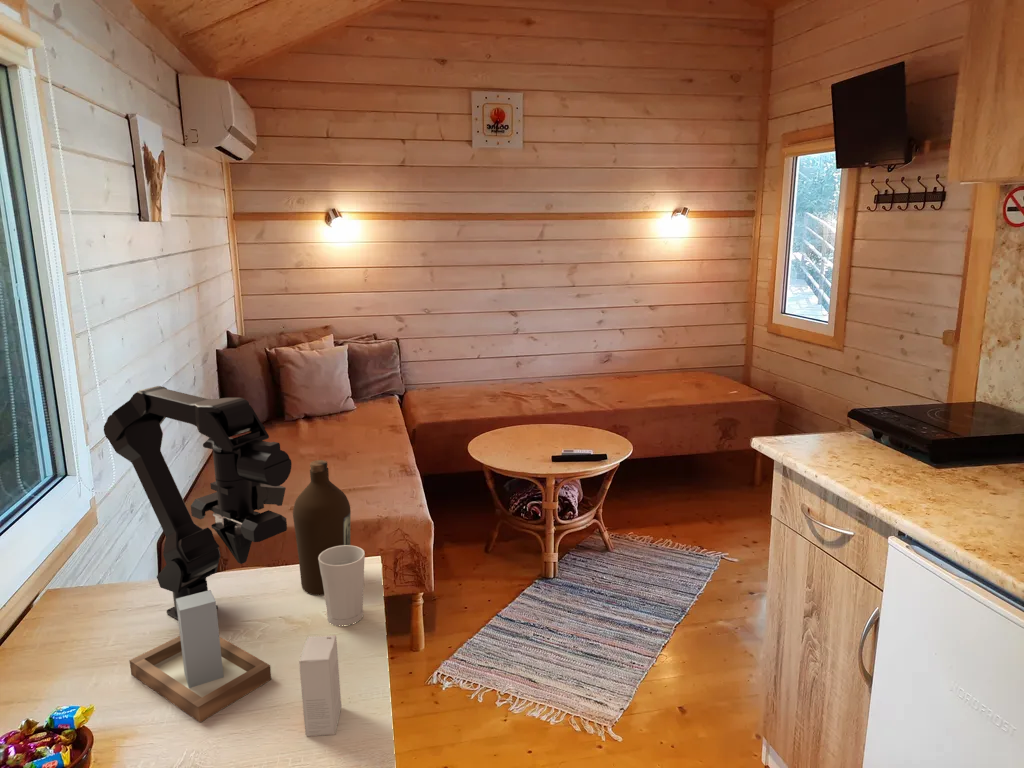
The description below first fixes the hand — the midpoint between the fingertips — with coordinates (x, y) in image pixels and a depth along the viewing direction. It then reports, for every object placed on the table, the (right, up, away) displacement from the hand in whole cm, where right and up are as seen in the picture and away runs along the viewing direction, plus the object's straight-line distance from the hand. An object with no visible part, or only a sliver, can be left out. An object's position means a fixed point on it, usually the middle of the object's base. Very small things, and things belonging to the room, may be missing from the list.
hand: (242, 562), depth 122 cm
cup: (+16, -12, +8) cm, 21 cm away
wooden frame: (-3, -16, -9) cm, 18 cm away
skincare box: (+19, -18, -19) cm, 33 cm away
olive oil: (+9, -9, +19) cm, 23 cm away
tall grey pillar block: (-2, -15, -10) cm, 18 cm away
